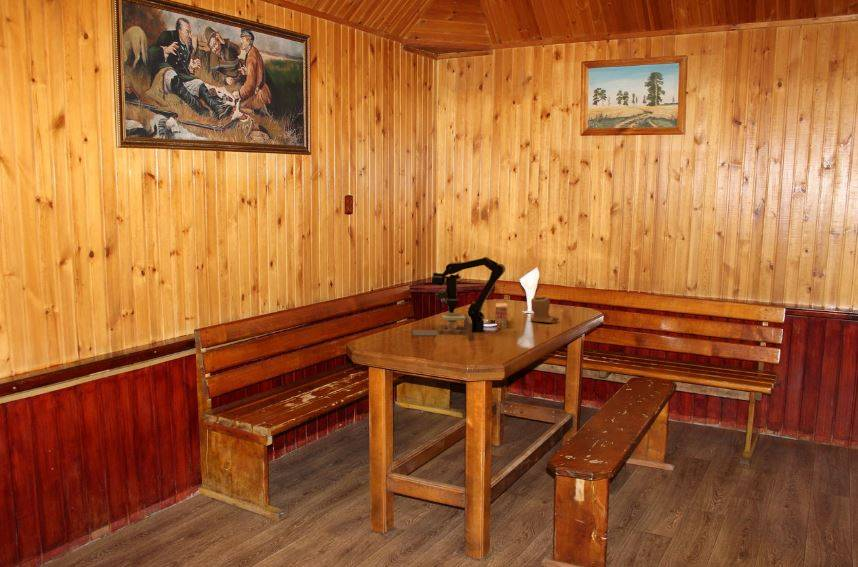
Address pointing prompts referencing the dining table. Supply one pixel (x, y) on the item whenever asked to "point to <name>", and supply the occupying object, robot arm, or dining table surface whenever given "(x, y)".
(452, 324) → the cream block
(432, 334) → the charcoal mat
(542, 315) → the brown boot
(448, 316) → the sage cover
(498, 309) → the stack of blocks
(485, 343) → the dining table surface
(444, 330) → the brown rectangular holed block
